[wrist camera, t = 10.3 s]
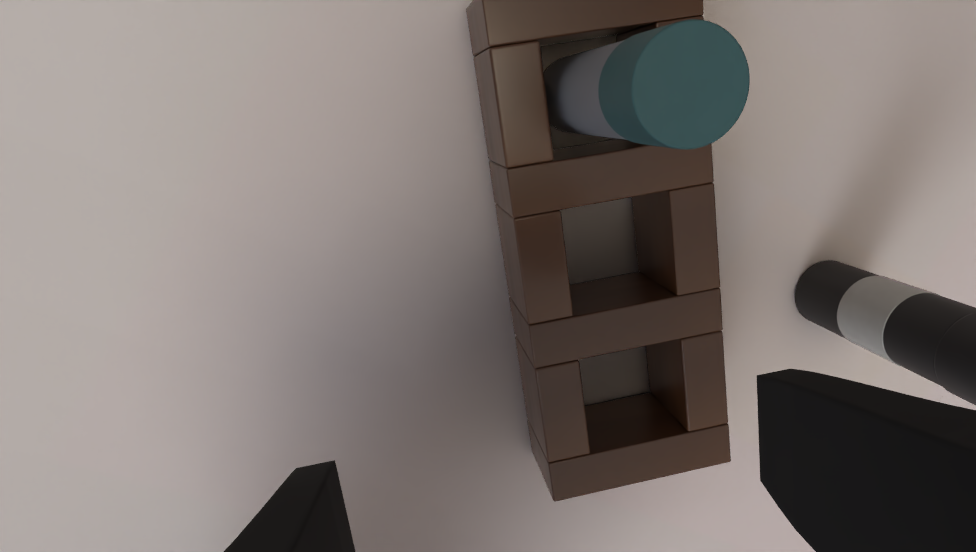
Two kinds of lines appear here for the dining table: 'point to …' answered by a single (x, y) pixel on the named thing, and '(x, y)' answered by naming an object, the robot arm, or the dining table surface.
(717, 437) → the marker stand
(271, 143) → the dining table surface
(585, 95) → the teal marker
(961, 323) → the black marker
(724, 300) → the dining table surface
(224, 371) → the dining table surface
